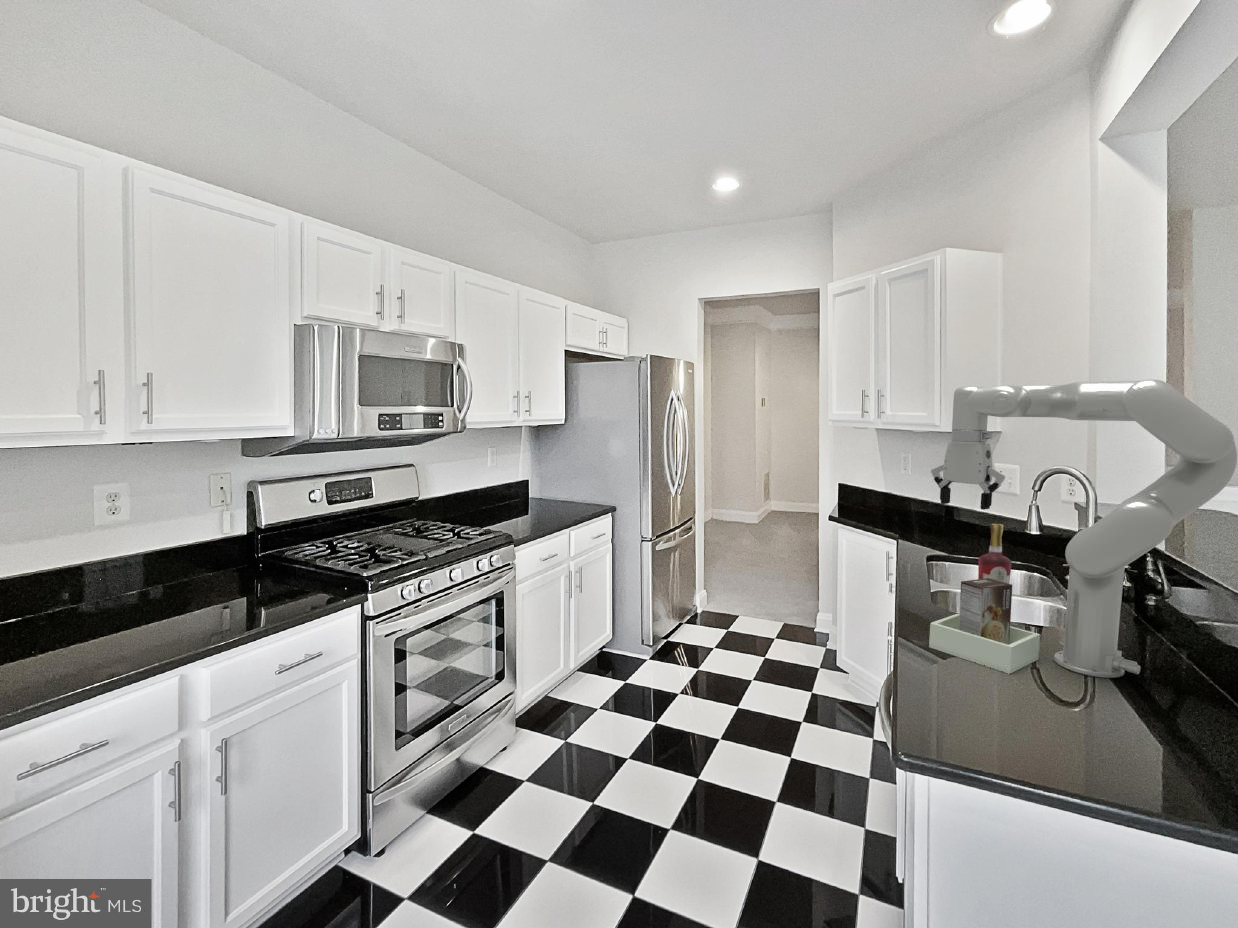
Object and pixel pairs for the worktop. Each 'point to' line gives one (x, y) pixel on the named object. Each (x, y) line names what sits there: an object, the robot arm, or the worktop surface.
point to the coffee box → (986, 609)
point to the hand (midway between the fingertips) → (964, 506)
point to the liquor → (995, 559)
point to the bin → (985, 645)
